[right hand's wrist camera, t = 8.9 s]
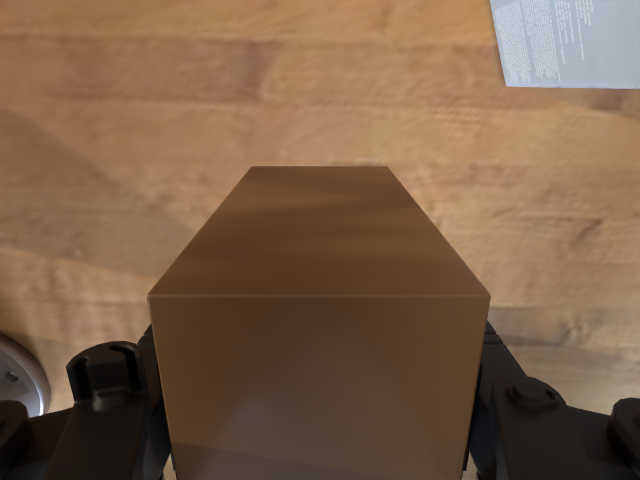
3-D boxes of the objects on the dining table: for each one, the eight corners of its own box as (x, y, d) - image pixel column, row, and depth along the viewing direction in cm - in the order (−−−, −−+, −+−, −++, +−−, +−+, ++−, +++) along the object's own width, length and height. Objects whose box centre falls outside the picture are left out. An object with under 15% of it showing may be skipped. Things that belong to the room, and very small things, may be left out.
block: (387, 166, 15) (493, 294, 6) (377, 344, 17) (439, 623, 8) (251, 166, 15) (145, 295, 6) (261, 344, 17) (198, 623, 8)
